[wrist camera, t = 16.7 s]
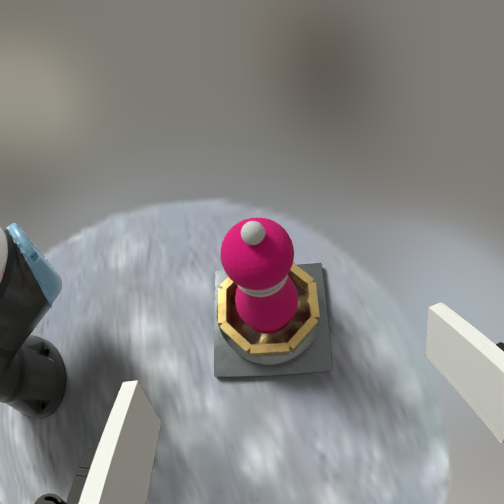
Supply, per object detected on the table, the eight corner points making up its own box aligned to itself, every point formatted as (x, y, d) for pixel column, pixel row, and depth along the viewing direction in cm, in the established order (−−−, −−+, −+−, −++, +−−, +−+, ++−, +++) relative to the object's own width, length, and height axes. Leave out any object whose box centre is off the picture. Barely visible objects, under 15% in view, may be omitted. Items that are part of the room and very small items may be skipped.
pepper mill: (241, 285, 42) (206, 190, 24) (296, 283, 41) (299, 184, 24) (240, 338, 39) (197, 275, 21) (298, 337, 38) (306, 271, 20)
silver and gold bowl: (216, 377, 41) (200, 370, 34) (217, 273, 49) (204, 248, 42) (331, 371, 40) (341, 363, 33) (320, 266, 48) (325, 239, 40)
